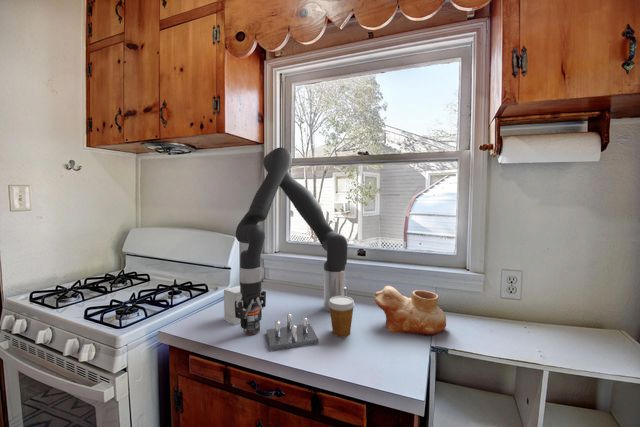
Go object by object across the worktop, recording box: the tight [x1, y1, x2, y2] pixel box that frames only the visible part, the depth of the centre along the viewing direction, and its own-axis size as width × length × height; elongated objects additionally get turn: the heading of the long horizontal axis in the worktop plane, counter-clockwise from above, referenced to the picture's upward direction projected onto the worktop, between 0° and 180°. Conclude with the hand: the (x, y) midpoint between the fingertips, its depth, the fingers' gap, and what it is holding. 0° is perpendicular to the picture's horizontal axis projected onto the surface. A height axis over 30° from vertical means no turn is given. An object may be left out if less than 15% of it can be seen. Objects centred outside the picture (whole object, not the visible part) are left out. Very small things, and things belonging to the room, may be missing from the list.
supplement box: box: [223, 284, 242, 326], centre depth 114 cm, size 7×7×13 cm
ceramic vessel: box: [373, 285, 447, 337], centre depth 107 cm, size 14×26×15 cm, turn 79°
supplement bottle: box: [242, 301, 261, 336], centre depth 104 cm, size 6×6×11 cm
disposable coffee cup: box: [328, 295, 355, 338], centre depth 103 cm, size 10×10×12 cm
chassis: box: [265, 313, 319, 352], centre depth 99 cm, size 16×12×6 cm
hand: (251, 323), depth 104 cm, fingers open, 7 cm apart
